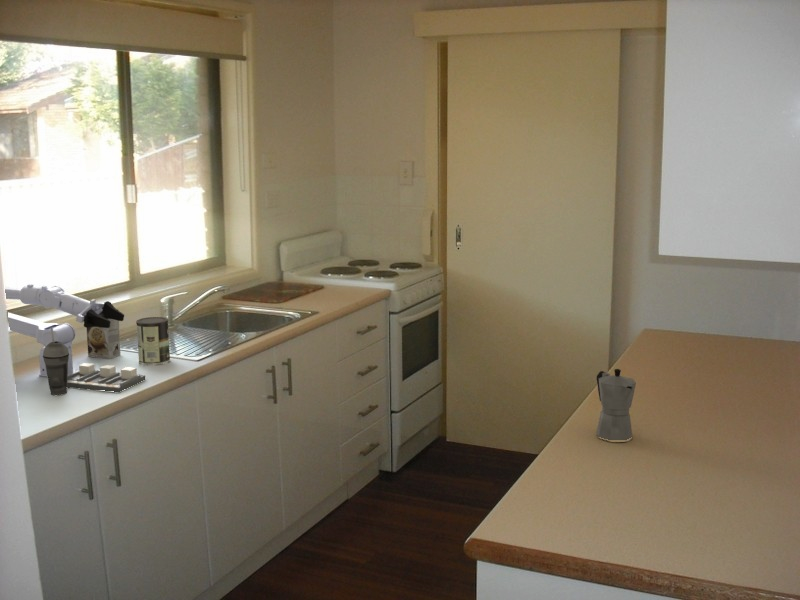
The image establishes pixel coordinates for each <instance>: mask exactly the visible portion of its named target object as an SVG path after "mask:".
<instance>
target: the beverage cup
mask: <svg viewBox="0 0 800 600" xmlns="http://www.w3.org/2000/svg"><path fill="white" fill-rule="evenodd" d="M51 334H52V341H53V342H51V343H49V344H48V345H47V346H46V347H45V349H44V352H43V358H44V362H45V365H46V371H47V377H46V378H47V381H48V388H49V392H50V395H52V396H55V395H57V396H63V395H66V394H68V387H67V380H68V359H69V352H68V349H67V347H66V346H65V345H64V344H63V343H61V342H58V341H54V335H53V328H52V326H51Z"/></svg>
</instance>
